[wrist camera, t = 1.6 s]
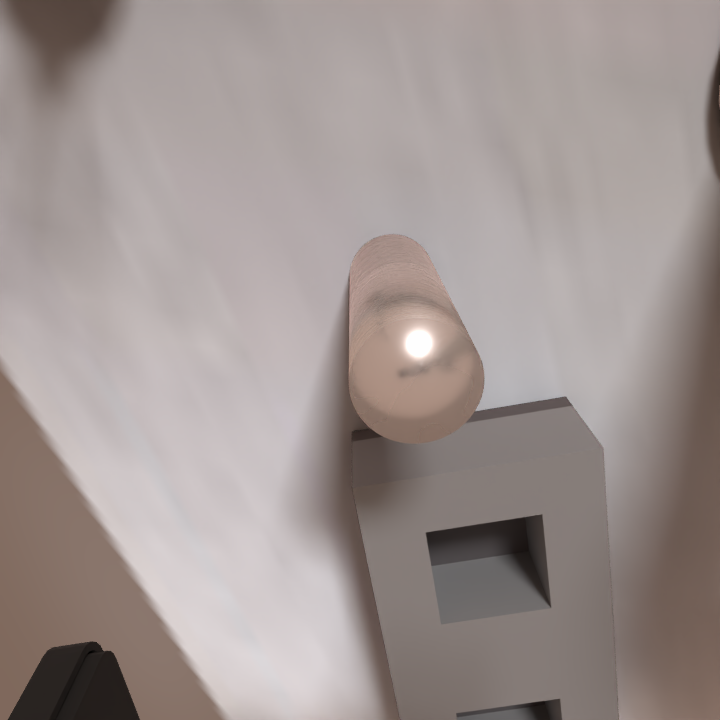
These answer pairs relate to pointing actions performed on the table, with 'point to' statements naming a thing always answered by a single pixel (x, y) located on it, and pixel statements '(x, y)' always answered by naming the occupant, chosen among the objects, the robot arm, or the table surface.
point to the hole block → (492, 566)
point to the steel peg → (408, 346)
